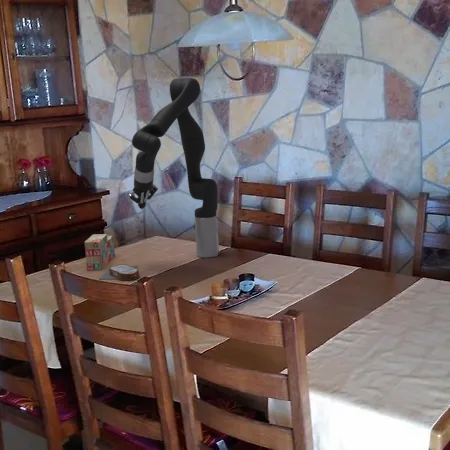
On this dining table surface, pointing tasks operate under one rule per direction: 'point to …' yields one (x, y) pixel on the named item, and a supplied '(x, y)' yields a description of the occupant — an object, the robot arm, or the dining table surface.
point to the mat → (107, 276)
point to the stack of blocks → (99, 251)
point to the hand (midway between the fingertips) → (141, 207)
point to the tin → (124, 272)
